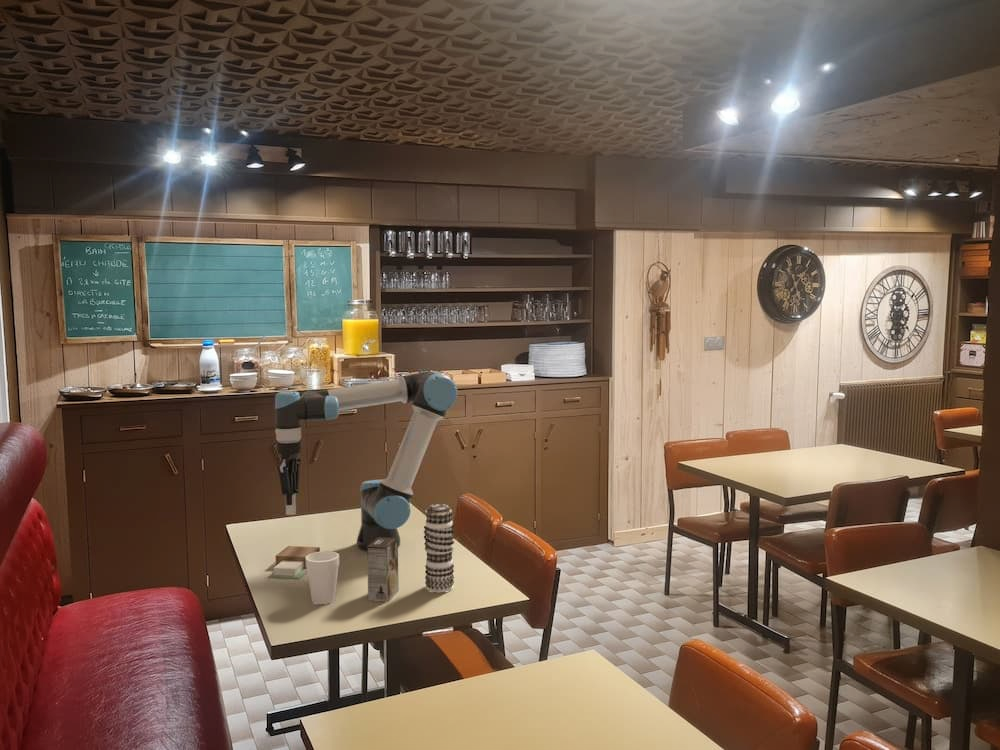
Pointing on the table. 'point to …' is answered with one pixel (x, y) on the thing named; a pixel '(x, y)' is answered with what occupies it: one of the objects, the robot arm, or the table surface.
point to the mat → (290, 576)
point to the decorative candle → (439, 548)
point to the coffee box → (382, 569)
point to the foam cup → (322, 575)
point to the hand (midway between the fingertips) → (291, 514)
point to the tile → (289, 568)
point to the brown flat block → (295, 554)
